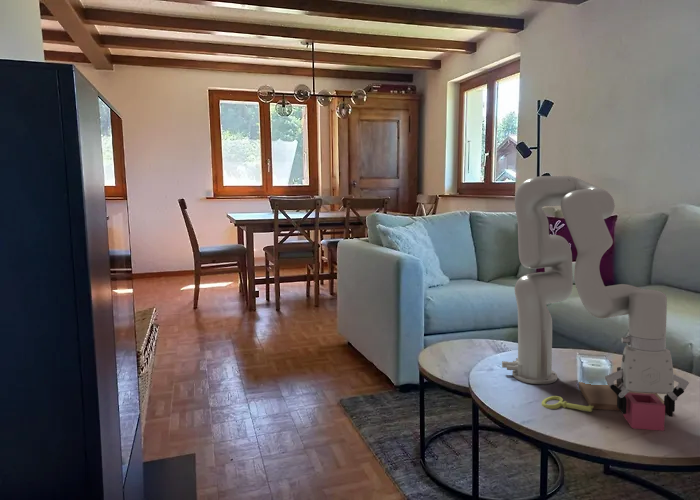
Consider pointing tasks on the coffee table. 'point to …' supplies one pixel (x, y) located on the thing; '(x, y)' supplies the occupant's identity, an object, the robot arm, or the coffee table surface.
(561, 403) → the key
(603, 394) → the bobbin stand
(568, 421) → the coffee table surface
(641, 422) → the sleeve
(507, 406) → the coffee table surface
